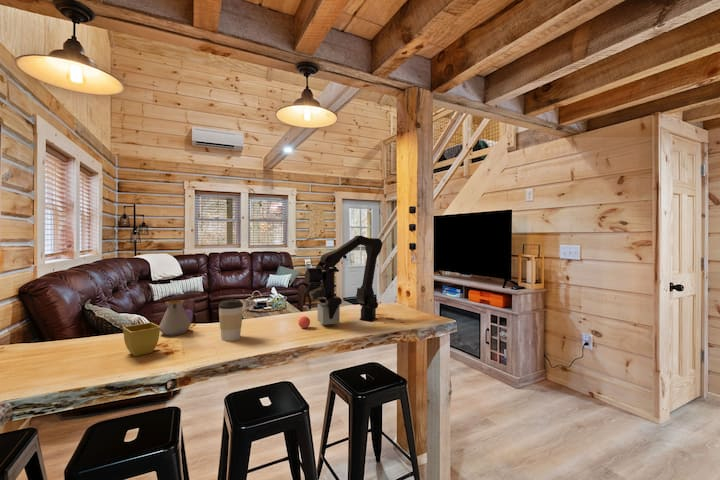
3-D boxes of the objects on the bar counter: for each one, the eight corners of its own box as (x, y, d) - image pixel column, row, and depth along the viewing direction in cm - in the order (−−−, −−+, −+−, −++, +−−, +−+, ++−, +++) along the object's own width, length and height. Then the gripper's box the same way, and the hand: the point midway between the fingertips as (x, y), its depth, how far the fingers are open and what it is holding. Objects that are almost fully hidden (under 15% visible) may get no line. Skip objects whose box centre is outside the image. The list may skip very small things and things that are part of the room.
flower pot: (151, 346, 118) (151, 321, 118) (160, 352, 113) (160, 326, 113) (122, 353, 111) (122, 327, 111) (130, 360, 106) (130, 332, 106)
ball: (295, 325, 141) (303, 332, 143) (303, 319, 140) (311, 326, 142) (297, 318, 146) (304, 325, 147) (305, 312, 145) (313, 319, 146)
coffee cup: (217, 336, 131) (218, 298, 131) (241, 333, 135) (242, 297, 135) (218, 343, 123) (218, 303, 123) (244, 340, 127) (244, 301, 127)
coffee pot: (159, 330, 137) (159, 294, 137) (190, 327, 143) (190, 292, 142) (155, 346, 118) (155, 305, 118) (191, 342, 124) (191, 302, 123)
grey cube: (333, 318, 154) (333, 302, 153) (339, 323, 147) (339, 305, 147) (317, 320, 150) (317, 303, 150) (322, 324, 143) (323, 307, 143)
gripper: (305, 280, 153) (304, 313, 153) (317, 286, 136) (317, 323, 137) (327, 278, 158) (327, 311, 158) (342, 284, 141) (342, 321, 141)
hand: (327, 316), depth 148 cm, fingers closed on grey cube, 8 cm apart
